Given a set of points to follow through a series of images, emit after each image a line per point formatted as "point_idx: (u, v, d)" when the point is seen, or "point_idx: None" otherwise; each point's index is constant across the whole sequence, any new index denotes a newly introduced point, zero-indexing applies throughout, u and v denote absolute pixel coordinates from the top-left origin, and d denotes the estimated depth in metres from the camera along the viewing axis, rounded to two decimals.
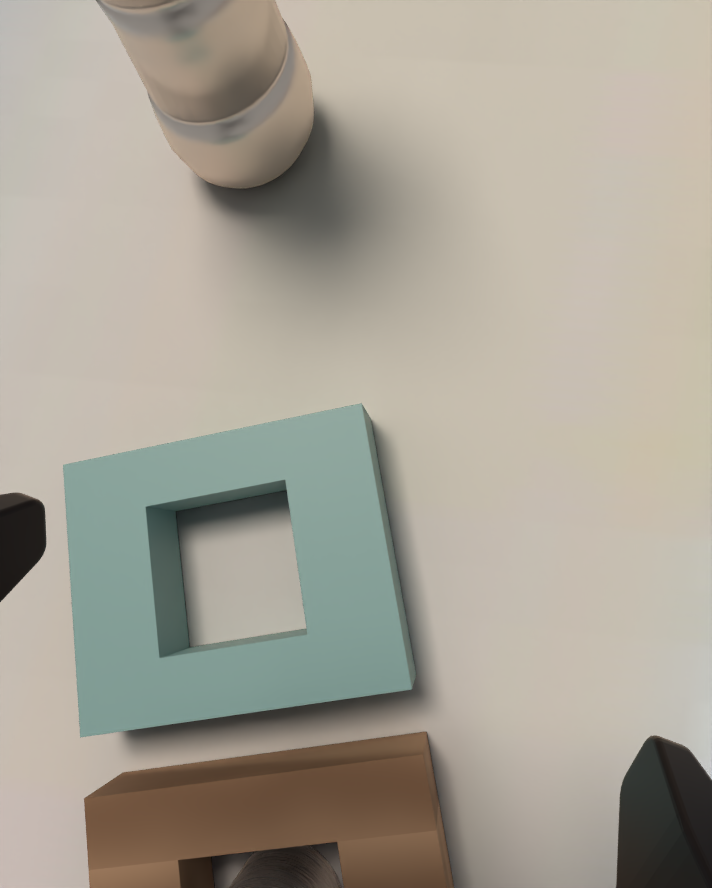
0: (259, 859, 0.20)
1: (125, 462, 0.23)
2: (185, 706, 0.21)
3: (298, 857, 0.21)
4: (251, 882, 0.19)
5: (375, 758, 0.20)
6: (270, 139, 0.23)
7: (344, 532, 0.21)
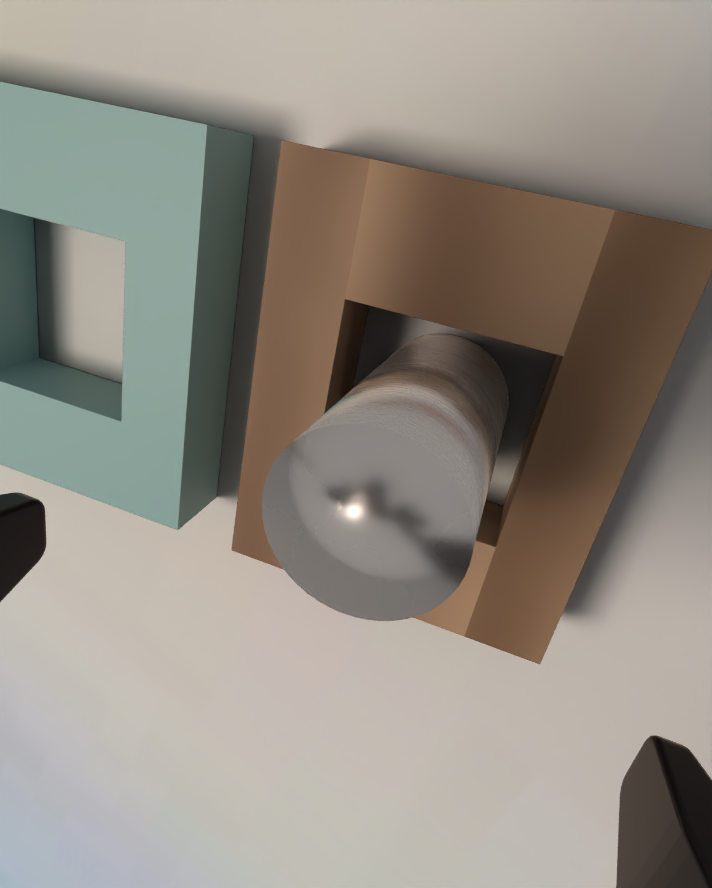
0: None
1: None
2: (170, 413, 0.18)
3: None
4: None
5: None
6: None
7: (26, 145, 0.16)
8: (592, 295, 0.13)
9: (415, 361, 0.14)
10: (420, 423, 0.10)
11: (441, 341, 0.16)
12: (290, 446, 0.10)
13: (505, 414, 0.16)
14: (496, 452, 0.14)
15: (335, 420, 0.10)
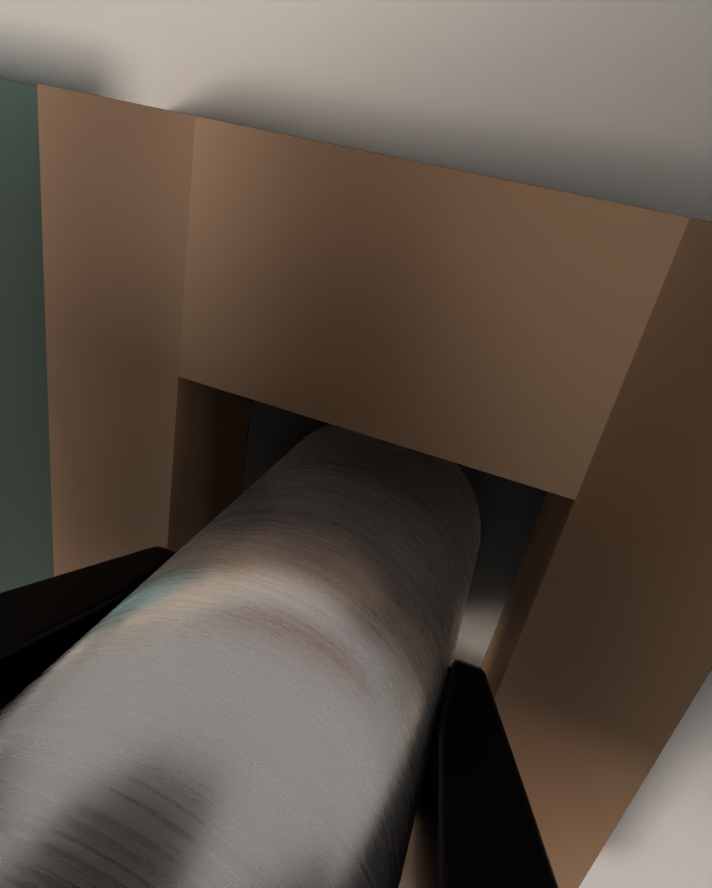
0: None
1: None
2: None
3: None
4: None
5: None
6: None
7: None
8: (633, 390, 0.06)
9: (290, 508, 0.07)
10: (186, 810, 0.04)
11: (363, 439, 0.09)
12: None
13: (472, 563, 0.09)
14: (444, 684, 0.07)
15: None
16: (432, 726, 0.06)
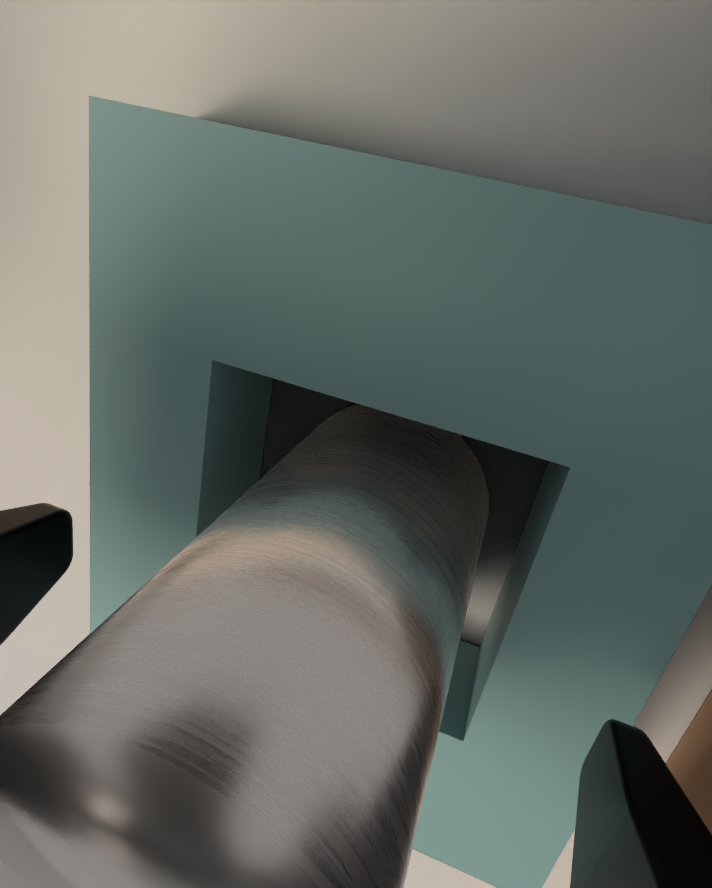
0: None
1: None
2: (578, 750, 0.10)
3: None
4: None
5: None
6: None
7: (374, 273, 0.08)
8: None
9: (321, 475, 0.08)
10: (259, 699, 0.05)
11: (381, 419, 0.10)
12: None
13: (482, 533, 0.10)
14: (459, 633, 0.08)
15: (64, 697, 0.05)
16: (450, 665, 0.07)
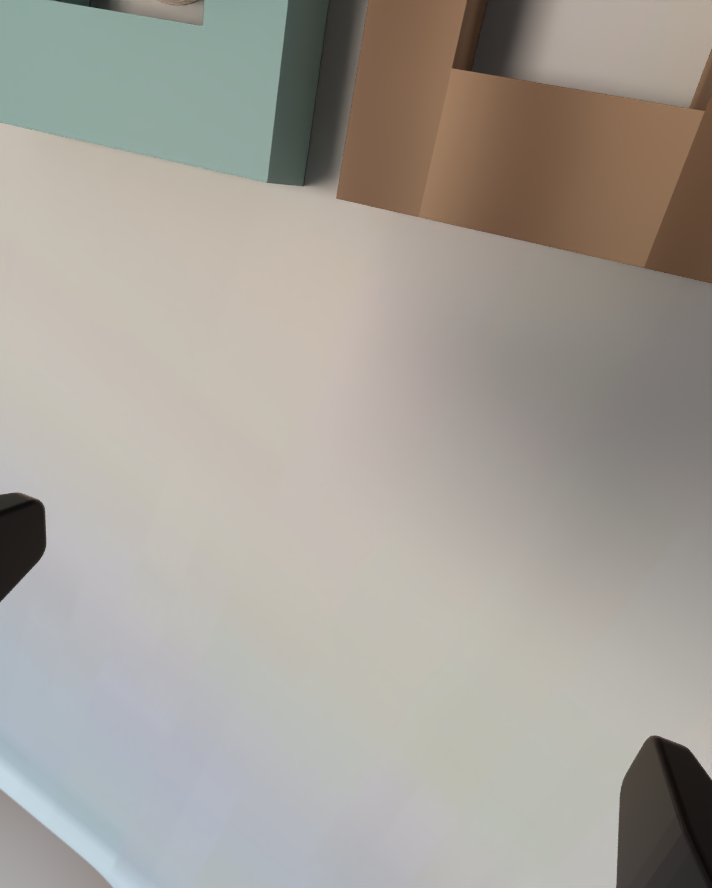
0: None
1: None
2: None
3: None
4: None
5: None
6: None
7: None
8: None
9: None
10: None
11: None
12: None
13: None
14: None
15: None
16: None
